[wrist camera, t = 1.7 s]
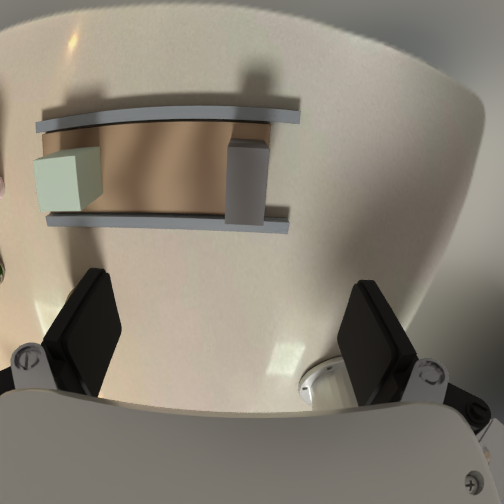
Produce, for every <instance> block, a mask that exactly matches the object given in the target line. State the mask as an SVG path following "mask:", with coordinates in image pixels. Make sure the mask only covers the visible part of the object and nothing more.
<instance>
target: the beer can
mask: <svg viewBox="0 0 504 504" xmlns="http://www.w3.org/2000/svg"><path fill="white" fill-rule="evenodd" d="M4 276H5V269H4V266H3V263H2V262H1V260H0V284H1V283H2V281H3V279H4Z"/></svg>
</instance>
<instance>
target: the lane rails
mask: <svg viewBox="0 0 504 504" xmlns="http://www.w3.org/2000/svg"><path fill="white" fill-rule="evenodd" d="M300 112H301V111H293V110H283V109H271V108H258V107H239V106H163V107H145V108H131V109H120V110H110V111H102V112H94V113H86V114H79V115H73V116H67V117H61V118H56V119H50V120H45V121H40V122H36V133H40V132H46V131H51V130H57V129H64V128H70V127H77V126H85V125H93V124H102V123H112V122H124V121H137V120H156V119H238V120H257V121H271V122H283V123H293V124H299V123H300ZM46 221H47V226H64V227H119V228H156V229H187V230H213V231H237V232H260V233H280V234H288V228H289V221H288V218H275V217H264V225H263V226H256V225H234V224H225V215H208V214H176V213H114V212H75V213H50V214H49V215H47V216H46Z"/></svg>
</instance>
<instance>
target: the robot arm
mask: <svg viewBox="0 0 504 504" xmlns="http://www.w3.org/2000/svg"><path fill="white" fill-rule="evenodd" d="M121 330H122V327H121V322H120V318H119V314H118V310H117V306H116V302H115V298H114V293H113V289H112V284H111V279H110V275H109V273H106V271H105V270H104V269H99V268H90V269H89V270H88V271H87V273H86V274H85V275H84V277H83V278H82V280H81V281H80V282H79V284H78V285H77V287H76V288H75V290H74V291H73V293H72V294H71V296H70V297H69V299H68V300H67V302H66V303H65V305H64V306H63V308H62V309H61V311H60V312H59V314H58V315H57V317H56V319H55V320H54V322H53V323H52V325H51V327H50V328H49V330H48V332H47V333H46V335H45V337H44V338H43V342H42V343H41V345H40V344H37V343H26V344H23V345H21V346H19V347H18V348H17V349H16V350H15V351H14V353H13V354H12V357H11V366H10V367H8V368H6V369H4V370H1V371H0V504H501V502H502V500H503V498H504V426H503V425H502V424H501V423H500V422H499V421H498V420H497V419H496V418H494V420H491V412H490V409H489V407H488V405H487V404H486V403H485V402H484V401H483V400H482V399H480V398H478V397H476V396H474V395H472V394H470V393H468V392H466V391H464V390H462V389H460V388H458V387H456V386H454V385H452V384H450V383H448V379H449V375H448V372H447V370H446V368H445V367H444V366H443V365H442V364H441V363H440V362H438V361H437V360H434V359H432V358H422V359H418V357H417V355H416V354H417V353H416V351H415V349H414V347H413V346H412V344H411V342H410V340H409V338H408V337H407V335H406V333H405V331H404V330H403V328H402V326H401V324H400V323H399V321H398V319H397V317H396V316H395V314H394V312H393V311H392V309H391V307H390V306H389V304H388V302H387V301H386V299H385V297H384V296H383V294H382V292H381V291H380V289H379V288H378V286H377V284H376V283H375V281H373V280H359V281H358V283H357V284H354V286H353V289H352V292H351V295H350V298H349V302H348V305H347V308H346V311H345V314H344V317H343V320H342V323H341V326H340V329H339V332H338V337H337V340H338V345H339V348H340V351H341V354H342V356H341V357H336V358H333V359H329V360H327V361H325V362H322V363H320V364H318V365H317V366H315V367H313V368H312V369H311V370H309V371H308V372H307V373H306V374H305V375H304V376H303V378H302V379H301V381H300V383H299V395H300V397H301V399H302V400H303V401H304V402H305V403H306V404H308V405H311V406H312V410H313V411H303V412H277V413H236V412H211V411H195V410H183V409H172V408H163V407H155V406H147V405H140V404H133V403H126V402H120V401H115V400H109V399H103V398H98V395H99V392H100V389H101V386H102V383H103V380H104V377H105V375H106V372H107V369H108V366H109V364H110V361H111V358H112V356H113V353H114V350H115V348H116V345H117V343H118V340H119V337H120V335H121Z"/></svg>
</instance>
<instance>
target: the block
mask: <svg viewBox="0 0 504 504" xmlns="http://www.w3.org/2000/svg"><path fill="white" fill-rule="evenodd" d="M33 164H34V174H35V182H36V189H37V196H38V202H39V208H40V212H46V211H82V210H83V209H84V208H85V207H87V206H88V205H89V204H90V203H92V202H93V201H94V200H96V199H97V198H98V197H100V196H101V195H102V194H103V188H102V176H101V162H100V146H96V147H85V148H75V149H66V150H59V151H57V152H54V153H51V154H49V155H46V156H43V157H41V158H38V159H36V160H33Z"/></svg>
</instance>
